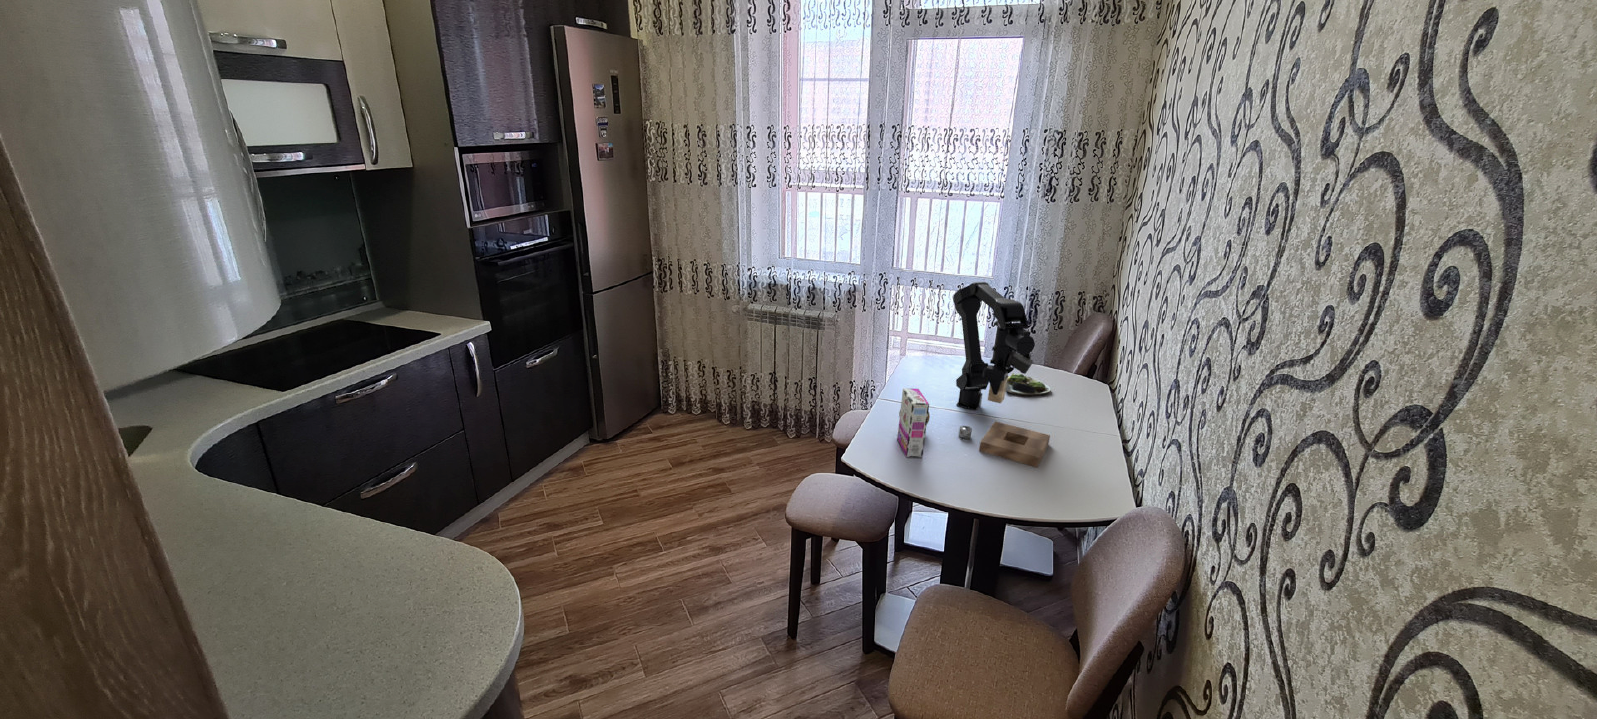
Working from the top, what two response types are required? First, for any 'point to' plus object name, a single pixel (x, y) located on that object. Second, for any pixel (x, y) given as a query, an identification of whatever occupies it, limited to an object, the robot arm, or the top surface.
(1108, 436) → the top surface
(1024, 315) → the robot arm
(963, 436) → the grey metal cylinder
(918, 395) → the candy bar box
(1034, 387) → the salad plate
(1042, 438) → the hole block
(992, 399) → the tan cardboard cuboid
